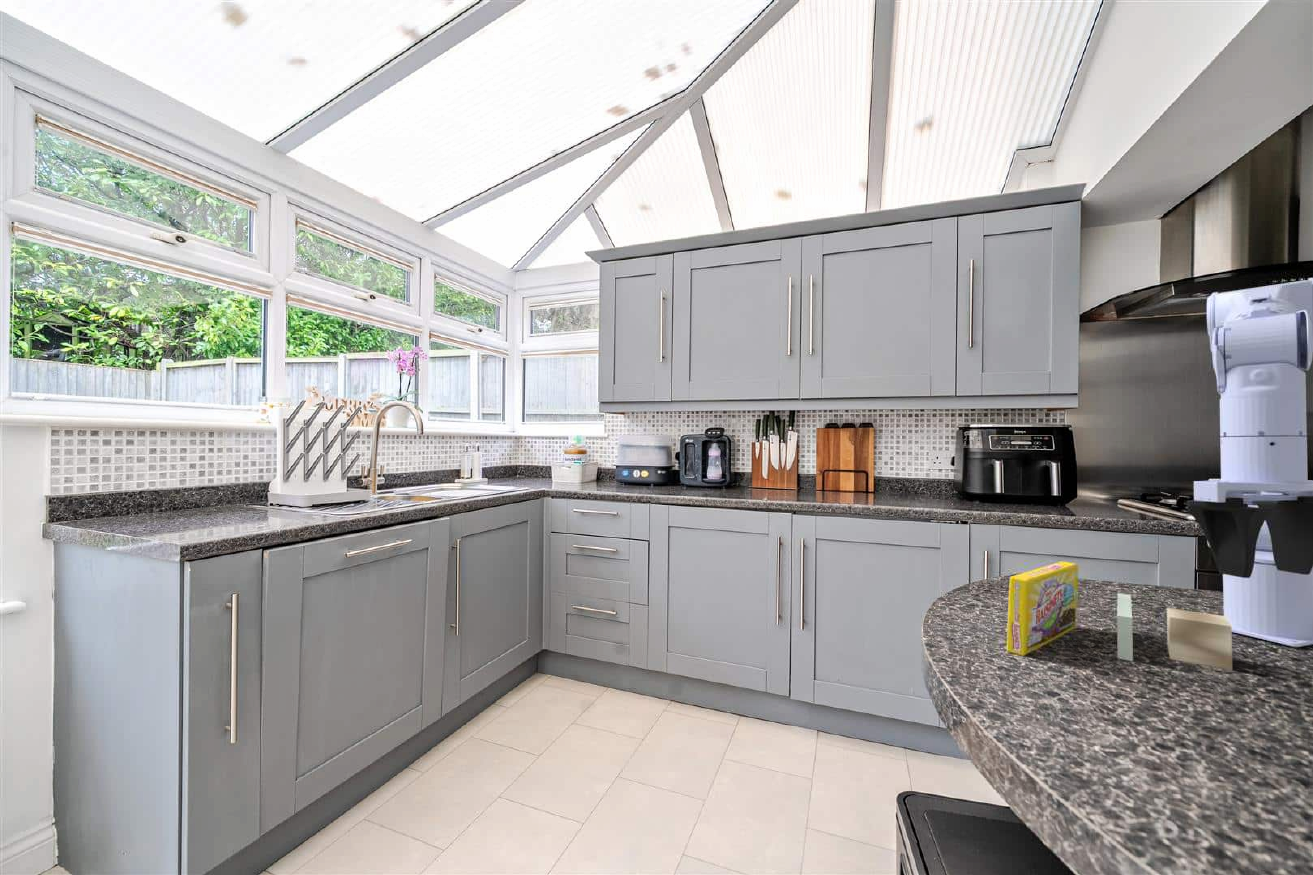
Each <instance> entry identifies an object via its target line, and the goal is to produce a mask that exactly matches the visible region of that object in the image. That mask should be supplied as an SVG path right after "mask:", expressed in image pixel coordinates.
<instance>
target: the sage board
mask: <svg viewBox="0 0 1313 875" xmlns="http://www.w3.org/2000/svg"><path fill="white" fill-rule="evenodd" d="M1131 596H1132V595H1131V594H1126V593H1119V592H1118V593H1117V601H1116V602H1117V605H1116V620H1117V621H1116V624H1117V626H1116V629H1117V630H1116V632H1117V634H1116V637H1117V639H1116V640H1117V647H1116V648H1117V659H1121V660H1124V661H1130V662H1134V657H1133V656H1134V654H1133V653H1134V651H1133V647H1134V646H1133V645H1134V643H1133V612H1132V611H1133V610H1132V597H1131Z"/></svg>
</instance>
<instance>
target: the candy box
mask: <svg viewBox="0 0 1313 875" xmlns="http://www.w3.org/2000/svg"><path fill="white" fill-rule="evenodd" d="M1078 566H1079V565H1078V564H1077V563H1073V562H1069V561H1061V560H1060V561H1058V562H1056V563H1052V564H1049V565H1046V566H1041V567H1039V568H1035V569H1032V570H1030V571H1025V572H1022V573H1020V574H1019V573H1018V574H1016V575H1015V574H1014V575H1012V576H1010V577H1009V583H1008V584H1009V585H1008V606H1007V607H1008V608H1007V627H1006V628H1007V630H1006V631H1007V633H1006V634H1007V635H1006V652H1007V653H1011V654H1014V655H1017V656H1021V657H1022V656H1023V657H1024V656H1026V655H1028V654H1031V653H1032V652H1034V651H1035V650H1037V649H1039V648H1041V647H1043V646H1046V645H1047V644H1049V643H1051V642H1053V641H1055V640H1057V639H1059V638H1060V637H1062V636H1063V635H1066V634H1067V633H1070V632H1071V631H1073V630H1074V629H1076V628H1077V615H1078V614H1077V612H1078V580H1079V579H1078V578H1079V577H1078V576H1079V575H1078V574H1079V572H1078V571H1079V567H1078ZM1065 633H1066V634H1065Z"/></svg>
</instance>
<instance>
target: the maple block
mask: <svg viewBox="0 0 1313 875" xmlns="http://www.w3.org/2000/svg"><path fill="white" fill-rule="evenodd" d="M1232 633H1233V632H1232V628H1231V625H1230V623H1229V622H1228V620H1227V619H1226V617H1225V616H1224V615H1220V614H1214V613H1213V614H1211V613H1205V612H1199V611H1191V610H1184V609H1179V608H1178V609H1177V608H1173V607H1172V608H1169V607H1166V634H1167V635H1166V639H1167V640H1166V641H1167V642H1166V643H1167V644H1166V646H1167V651H1168V655H1169V659H1170V660H1173V661H1179V662H1185V663H1189V664H1196V665H1201V666H1206V667H1211V668H1216V669H1222V670H1227V671H1231V672H1232V671H1233V647H1232V646H1233V640H1232V639H1233V638H1232V636H1233V635H1232Z"/></svg>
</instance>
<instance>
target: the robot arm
mask: <svg viewBox="0 0 1313 875" xmlns="http://www.w3.org/2000/svg"><path fill="white" fill-rule="evenodd" d="M1206 326H1207V327H1206V329H1207V334H1208V337H1209V346H1210V352H1211V354H1212V366H1213V370H1214V373H1215V377H1216V387H1217V388H1216V389H1217V390H1216V391H1217V393H1218V394H1219V395H1220V399H1219V429H1220V430H1219V436H1220V438H1219V439H1220V440H1219V441H1220V443H1219V444H1220V478H1209V479H1208V480H1199V481H1198V480H1197V481H1196V480H1195V481H1193V500H1192V499H1191V500H1190V499H1189V500H1186V510H1187V512H1189V513H1190V514H1191V515H1192V517H1193V518H1194V520H1195V521H1196V523H1197V524H1198V525H1199V527H1200V529H1201V531H1202V532H1203V534H1204V537H1205V539H1206V540H1207V541H1206V542H1207V546H1208V547H1209V548H1210V550H1211V553H1212V556H1213V559H1214V562H1215V565H1216V567H1217V569H1218V572H1219V574H1220V575H1222V586H1223V589H1222V590H1223V591H1222V592H1223V593H1222V594H1223V598H1222V599H1223V616H1225V617H1226V619H1227V620H1228V622H1229V623H1230V625H1231V628H1232V633H1236V634H1240V635H1244V636H1247V637H1248V636H1249V637H1251V638H1252V637H1253V638H1257V639H1262V640H1264V641H1265V640H1266V641H1268V642H1273V643H1277V644H1282V645H1285V646H1290V647H1293V648H1300V647H1305V646H1311V645H1313V480H1311V479H1310V480H1308V442H1307V441H1308V432H1307V386H1306V385H1307V384H1306V382H1307V381H1306V380H1307V378H1306V377H1307V376H1306V375H1307V374H1306V372H1304V371H1309V370H1310V367H1311V366H1312V365H1311V364H1312V363H1313V362H1312V361H1313V277H1309V278H1307V280H1306V279H1303V280H1299V281H1293V282H1292V281H1291V282H1285V283H1279V284H1272V285H1271V284H1270V285H1265V286H1258V287H1253V288H1252V287H1250V288H1245V289H1244V288H1243V289H1238V290H1232V291H1231V290H1230V291H1225V292H1224V291H1223V292H1220V293H1219V291H1215V292H1212V293H1211V295H1209V296H1208V297H1207V299H1206Z"/></svg>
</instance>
